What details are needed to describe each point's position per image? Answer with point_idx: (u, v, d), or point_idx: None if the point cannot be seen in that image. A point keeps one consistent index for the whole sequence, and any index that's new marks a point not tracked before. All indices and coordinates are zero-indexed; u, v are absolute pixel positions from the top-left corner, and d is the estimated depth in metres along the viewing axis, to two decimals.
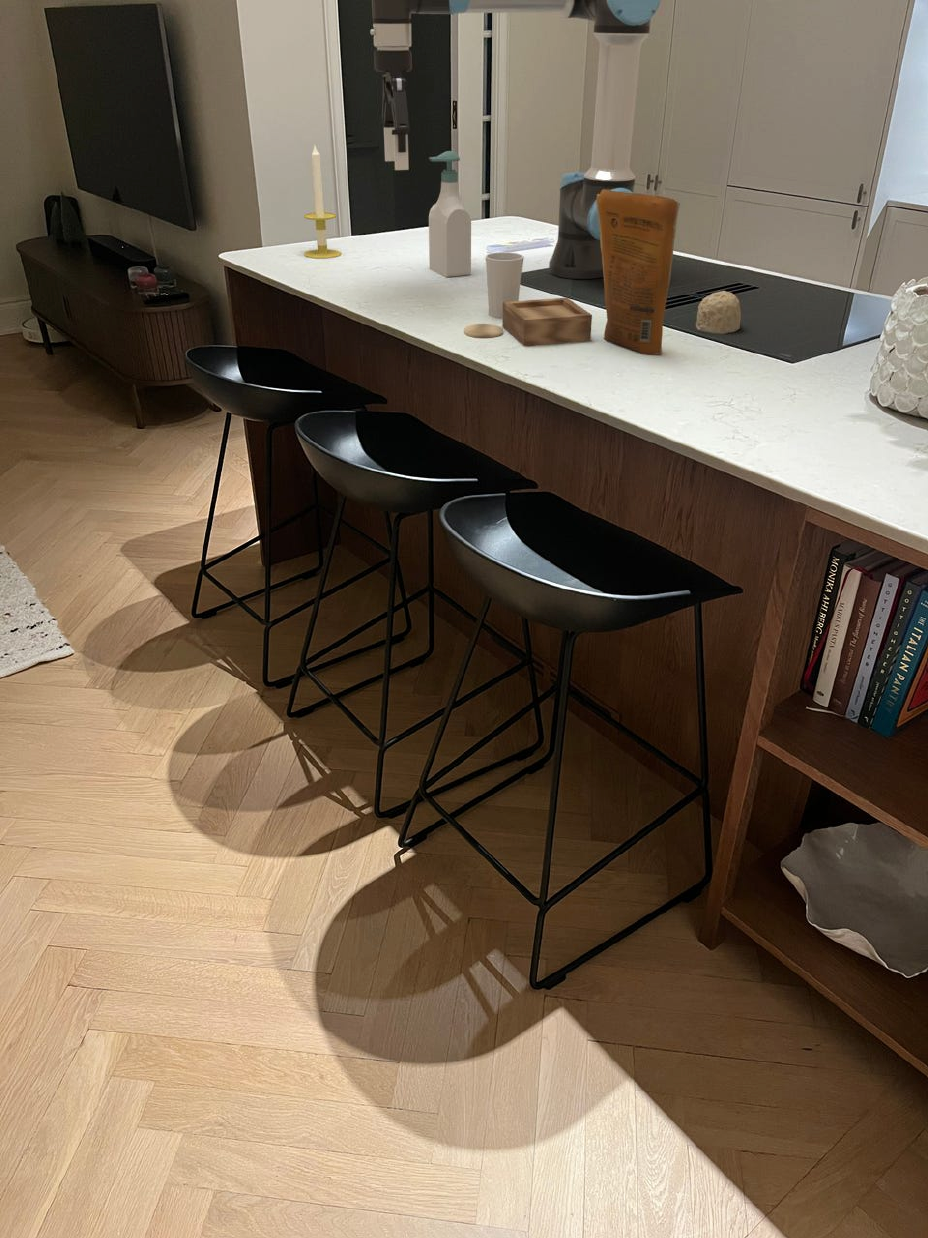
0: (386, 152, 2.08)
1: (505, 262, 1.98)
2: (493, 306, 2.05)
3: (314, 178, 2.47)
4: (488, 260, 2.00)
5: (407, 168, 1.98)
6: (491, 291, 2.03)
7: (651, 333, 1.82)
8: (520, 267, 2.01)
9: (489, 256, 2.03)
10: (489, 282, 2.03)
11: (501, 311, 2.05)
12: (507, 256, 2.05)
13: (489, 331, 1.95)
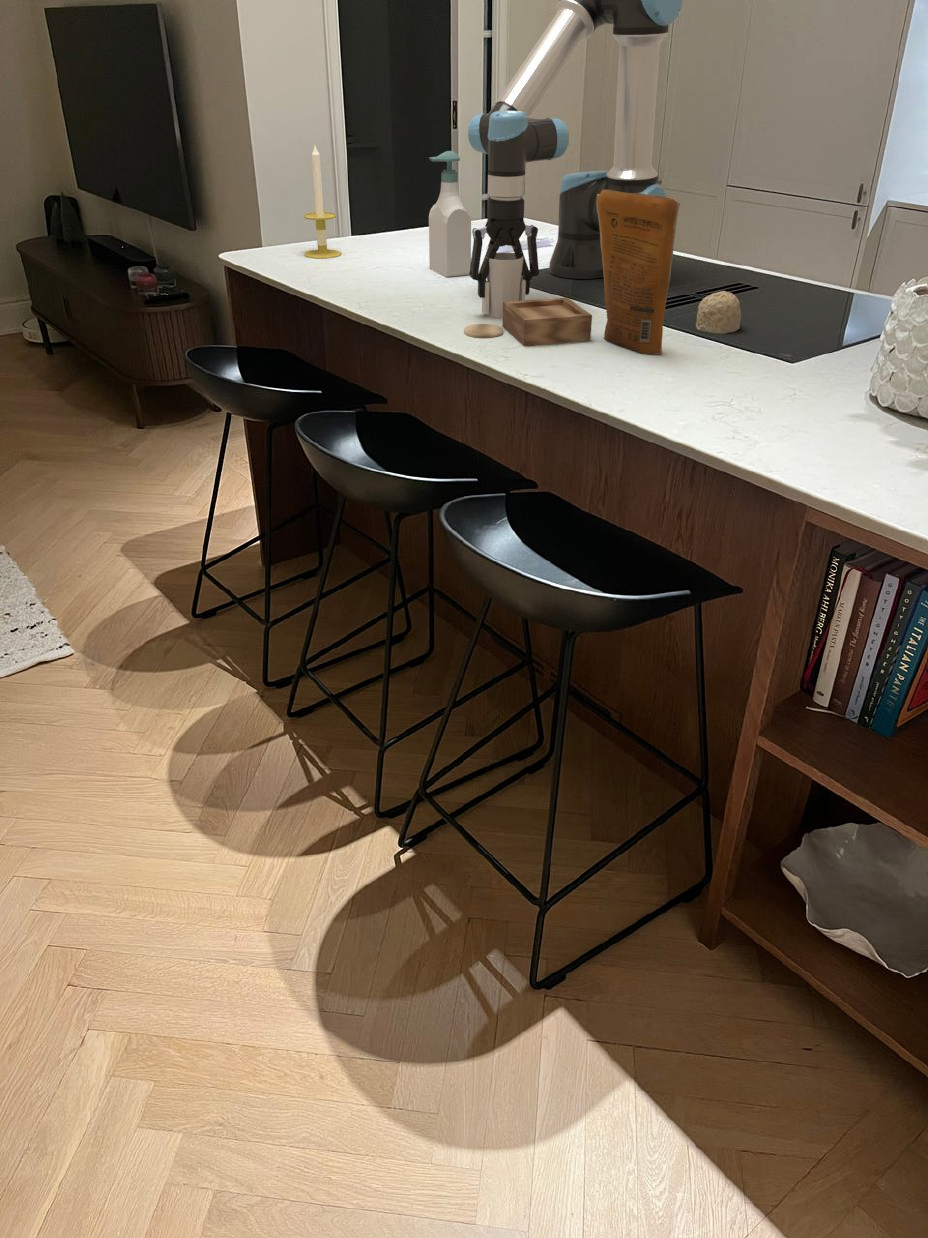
0: None
1: (505, 262, 1.98)
2: (493, 306, 2.05)
3: (314, 178, 2.47)
4: None
5: (484, 313, 2.06)
6: (491, 291, 2.03)
7: (651, 333, 1.82)
8: (520, 267, 2.01)
9: None
10: (489, 282, 2.03)
11: (501, 311, 2.05)
12: (507, 256, 2.05)
13: (489, 331, 1.95)
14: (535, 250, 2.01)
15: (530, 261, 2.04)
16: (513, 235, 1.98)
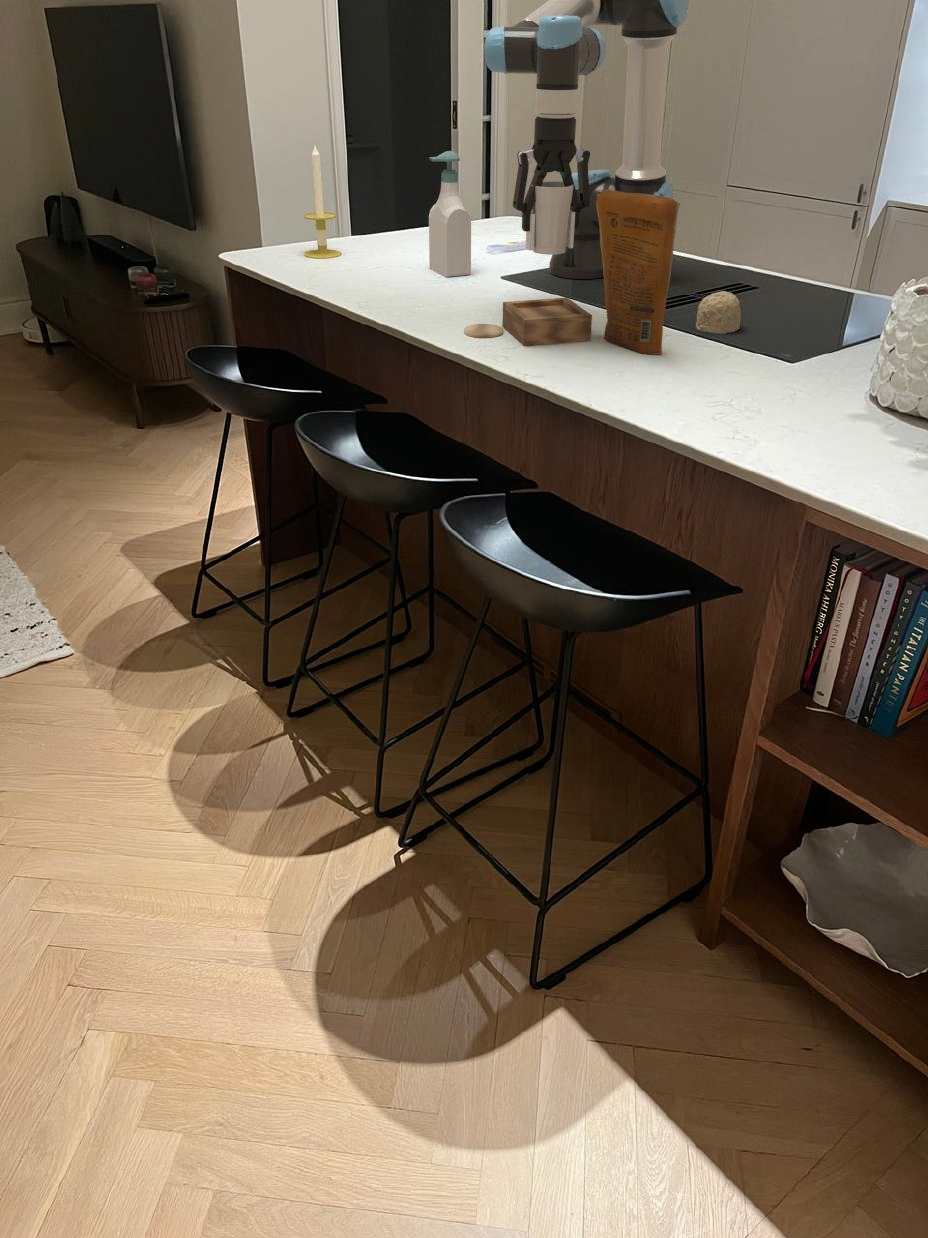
0: None
1: (554, 189, 1.78)
2: (539, 241, 1.84)
3: (314, 178, 2.47)
4: None
5: (529, 248, 1.85)
6: (537, 224, 1.83)
7: (651, 333, 1.82)
8: (570, 196, 1.80)
9: None
10: (535, 213, 1.82)
11: (548, 246, 1.84)
12: (554, 186, 1.84)
13: (489, 331, 1.95)
14: (586, 177, 1.81)
15: (580, 190, 1.83)
16: (563, 159, 1.77)
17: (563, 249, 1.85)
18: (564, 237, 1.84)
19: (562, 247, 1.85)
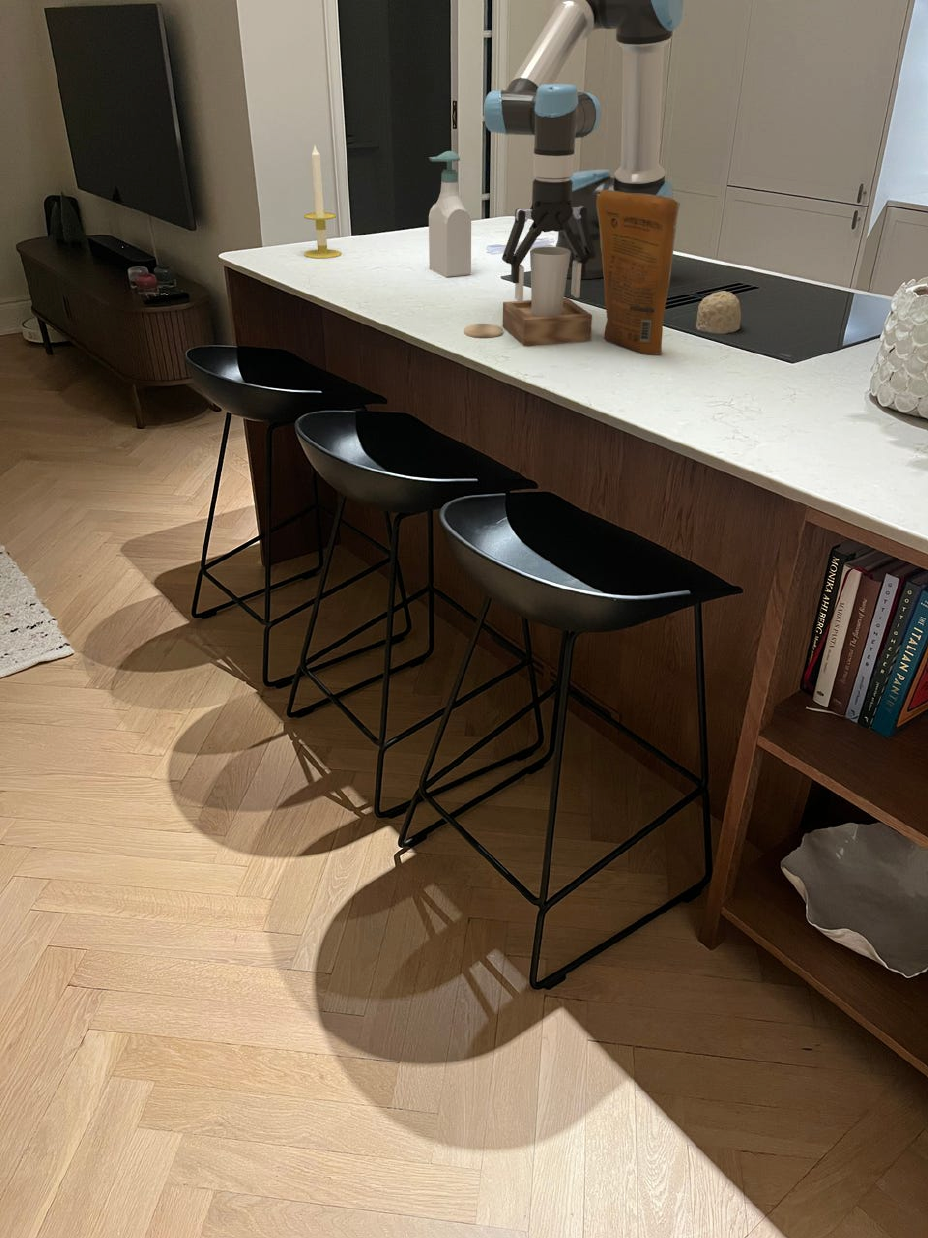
0: (571, 285, 1.93)
1: (552, 257, 1.84)
2: (536, 304, 1.91)
3: (314, 178, 2.47)
4: (533, 255, 1.86)
5: (518, 299, 1.90)
6: (535, 288, 1.89)
7: (651, 333, 1.82)
8: (567, 263, 1.87)
9: (533, 250, 1.89)
10: (533, 278, 1.89)
11: (545, 310, 1.90)
12: (552, 251, 1.91)
13: (489, 331, 1.95)
14: (587, 232, 1.86)
15: (584, 244, 1.89)
16: (561, 220, 1.83)
17: (560, 312, 1.92)
18: (561, 301, 1.91)
19: (559, 310, 1.91)
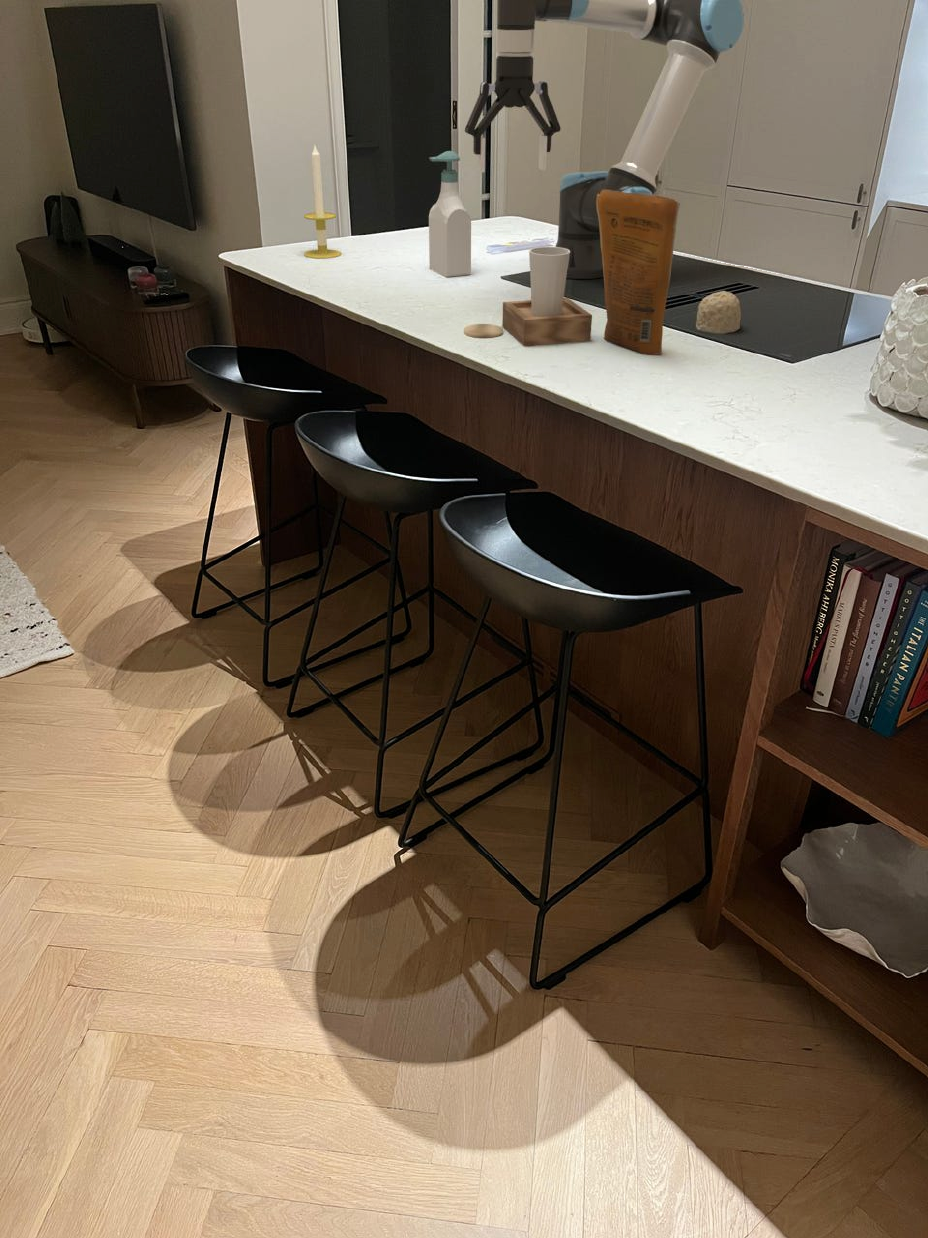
0: (539, 159, 2.06)
1: (551, 257, 1.84)
2: (536, 304, 1.91)
3: (314, 178, 2.47)
4: (532, 255, 1.86)
5: (480, 171, 2.02)
6: (535, 288, 1.89)
7: (651, 333, 1.82)
8: (566, 262, 1.87)
9: (532, 251, 1.89)
10: (533, 279, 1.89)
11: (545, 310, 1.90)
12: (551, 251, 1.91)
13: (489, 331, 1.95)
14: (550, 105, 1.99)
15: (549, 118, 2.01)
16: (524, 95, 1.96)
17: (560, 312, 1.92)
18: (561, 301, 1.91)
19: (559, 310, 1.91)
